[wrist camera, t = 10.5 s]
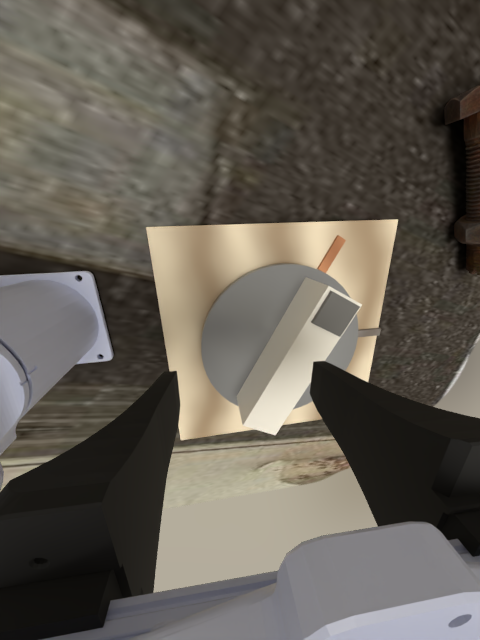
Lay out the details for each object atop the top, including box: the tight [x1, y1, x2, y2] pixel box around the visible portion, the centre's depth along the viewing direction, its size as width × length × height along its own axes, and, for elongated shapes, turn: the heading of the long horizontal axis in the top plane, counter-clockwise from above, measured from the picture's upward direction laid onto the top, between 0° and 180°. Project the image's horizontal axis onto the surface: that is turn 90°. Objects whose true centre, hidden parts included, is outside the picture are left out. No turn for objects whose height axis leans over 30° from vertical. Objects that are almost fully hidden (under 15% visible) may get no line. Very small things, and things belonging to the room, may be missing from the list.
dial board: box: [146, 219, 398, 440], centre depth 22 cm, size 20×20×2 cm
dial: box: [201, 263, 362, 435], centre depth 19 cm, size 14×14×5 cm
